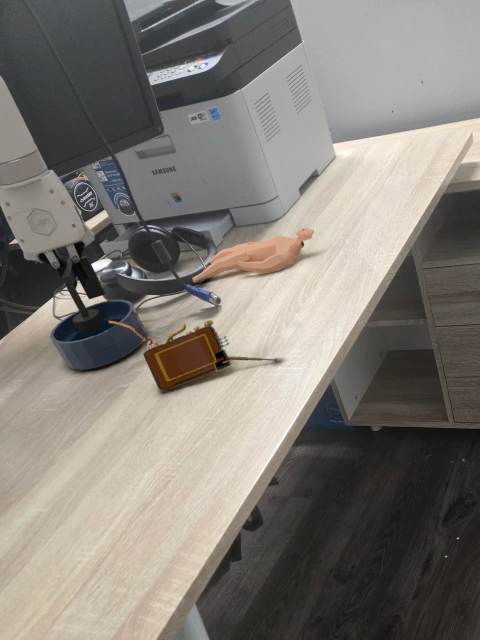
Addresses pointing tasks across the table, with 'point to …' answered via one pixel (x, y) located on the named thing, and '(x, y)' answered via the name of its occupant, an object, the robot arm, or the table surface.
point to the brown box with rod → (187, 356)
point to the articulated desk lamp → (92, 317)
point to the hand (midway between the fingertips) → (80, 284)
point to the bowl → (99, 336)
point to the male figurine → (257, 256)
